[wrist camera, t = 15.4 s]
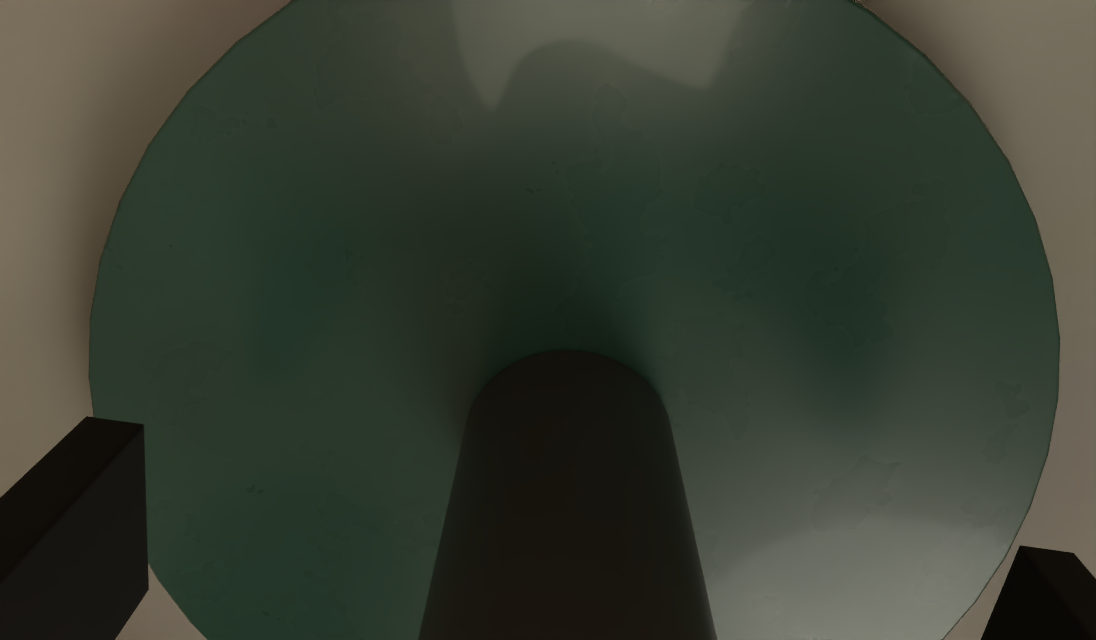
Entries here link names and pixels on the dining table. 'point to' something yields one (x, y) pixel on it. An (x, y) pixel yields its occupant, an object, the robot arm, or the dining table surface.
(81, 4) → the dining table surface
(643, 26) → the pot lid
